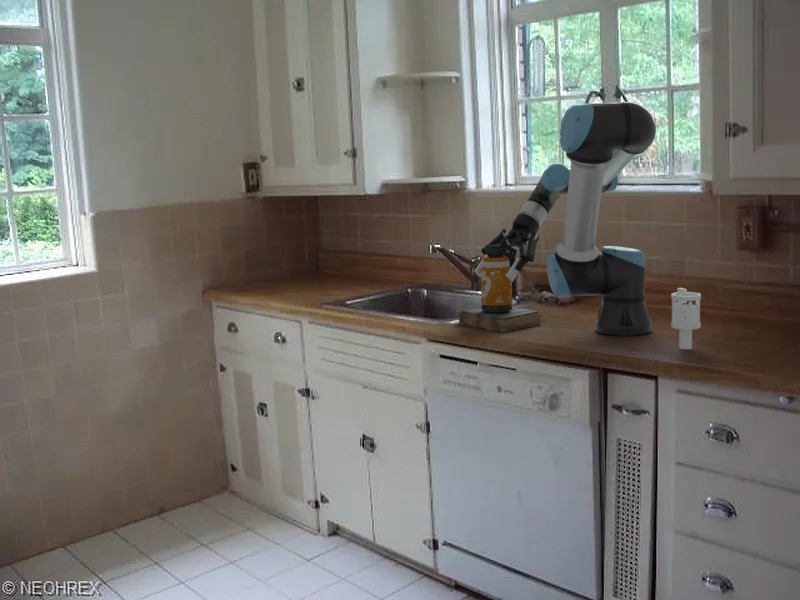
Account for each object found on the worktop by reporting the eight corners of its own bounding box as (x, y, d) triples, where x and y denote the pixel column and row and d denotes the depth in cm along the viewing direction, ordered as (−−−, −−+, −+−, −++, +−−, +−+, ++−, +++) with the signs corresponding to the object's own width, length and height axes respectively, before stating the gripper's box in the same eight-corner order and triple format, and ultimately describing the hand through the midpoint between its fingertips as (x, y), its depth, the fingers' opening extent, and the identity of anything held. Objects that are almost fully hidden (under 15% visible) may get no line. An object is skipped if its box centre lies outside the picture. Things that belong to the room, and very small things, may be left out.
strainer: (692, 344, 238) (692, 286, 236) (705, 350, 231) (706, 290, 229) (666, 346, 237) (666, 288, 234) (678, 352, 230) (679, 292, 228)
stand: (540, 324, 270) (540, 311, 269) (502, 332, 261) (502, 318, 260) (496, 316, 285) (496, 303, 284) (459, 323, 276) (458, 310, 276)
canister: (476, 310, 274) (474, 243, 271) (509, 306, 278) (507, 240, 275) (490, 315, 266) (488, 246, 263) (524, 311, 270) (522, 242, 267)
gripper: (566, 230, 268) (530, 288, 261) (507, 226, 287) (472, 280, 281) (553, 213, 264) (516, 272, 257) (493, 210, 283) (458, 264, 277)
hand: (493, 276), depth 269 cm, fingers open, 13 cm apart
